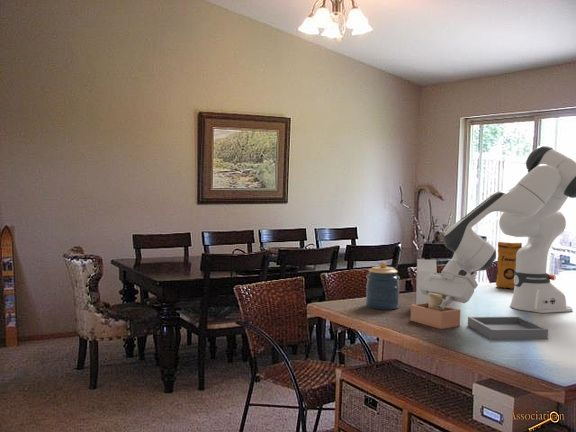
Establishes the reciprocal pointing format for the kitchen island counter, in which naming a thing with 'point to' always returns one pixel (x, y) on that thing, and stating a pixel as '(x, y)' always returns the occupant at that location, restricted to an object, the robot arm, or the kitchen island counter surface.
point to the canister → (382, 288)
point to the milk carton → (423, 276)
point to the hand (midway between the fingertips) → (433, 306)
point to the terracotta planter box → (435, 316)
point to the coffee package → (506, 264)
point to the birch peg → (434, 301)
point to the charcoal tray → (507, 328)
